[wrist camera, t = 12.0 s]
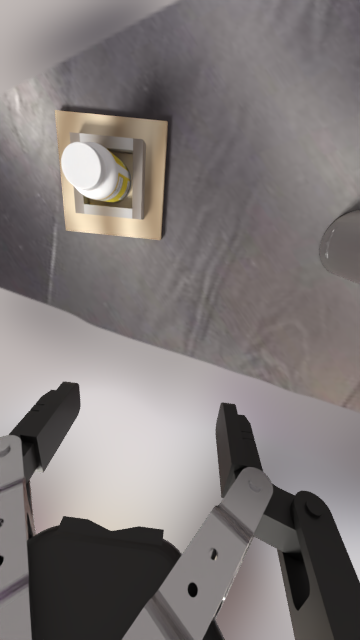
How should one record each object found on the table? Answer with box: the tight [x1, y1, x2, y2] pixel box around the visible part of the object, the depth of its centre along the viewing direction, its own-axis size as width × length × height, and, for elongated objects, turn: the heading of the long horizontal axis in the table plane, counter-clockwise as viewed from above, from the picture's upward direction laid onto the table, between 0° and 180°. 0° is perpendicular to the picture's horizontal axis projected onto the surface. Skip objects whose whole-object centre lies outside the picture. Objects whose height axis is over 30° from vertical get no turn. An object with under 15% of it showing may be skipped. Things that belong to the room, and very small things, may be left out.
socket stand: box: [55, 110, 168, 240], centre depth 32 cm, size 14×14×3 cm
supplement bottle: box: [61, 142, 131, 202], centre depth 28 cm, size 5×5×10 cm
